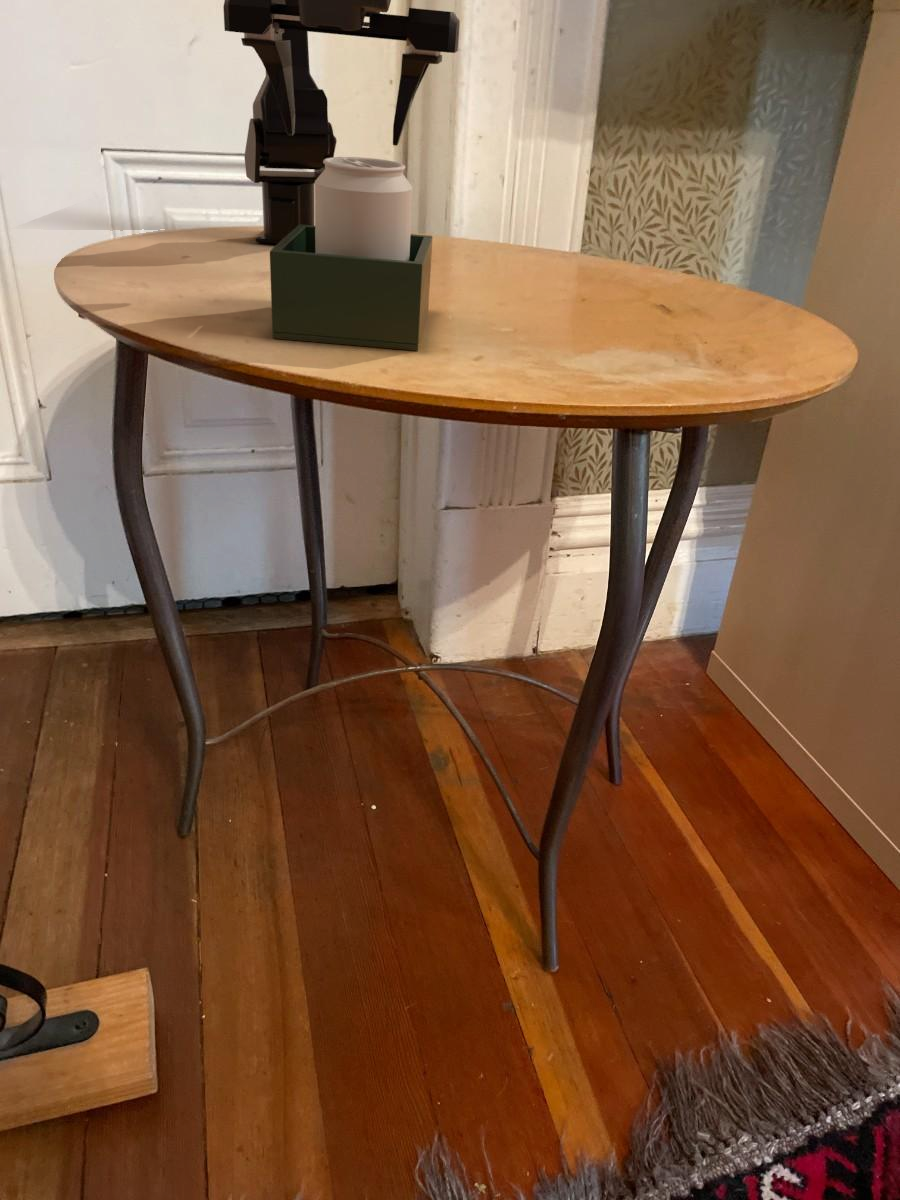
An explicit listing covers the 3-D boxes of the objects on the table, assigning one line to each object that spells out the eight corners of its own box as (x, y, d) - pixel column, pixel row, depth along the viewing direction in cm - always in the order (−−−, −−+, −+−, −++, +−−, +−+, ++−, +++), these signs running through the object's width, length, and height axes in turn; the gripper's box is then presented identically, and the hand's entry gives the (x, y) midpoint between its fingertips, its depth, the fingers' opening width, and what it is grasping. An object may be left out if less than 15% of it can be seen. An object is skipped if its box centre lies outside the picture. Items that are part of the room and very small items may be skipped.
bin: (300, 302, 79) (299, 224, 75) (428, 313, 79) (432, 235, 75) (272, 338, 69) (269, 250, 66) (417, 351, 69) (422, 264, 66)
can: (393, 337, 70) (400, 170, 64) (303, 325, 71) (300, 159, 65) (415, 314, 76) (423, 160, 70) (332, 303, 77) (332, 150, 71)
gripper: (196, -108, 62) (211, 140, 71) (460, -83, 62) (443, 162, 71) (236, -91, 72) (245, 126, 80) (466, -69, 72) (451, 146, 80)
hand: (343, 140), depth 78 cm, fingers open, 9 cm apart
